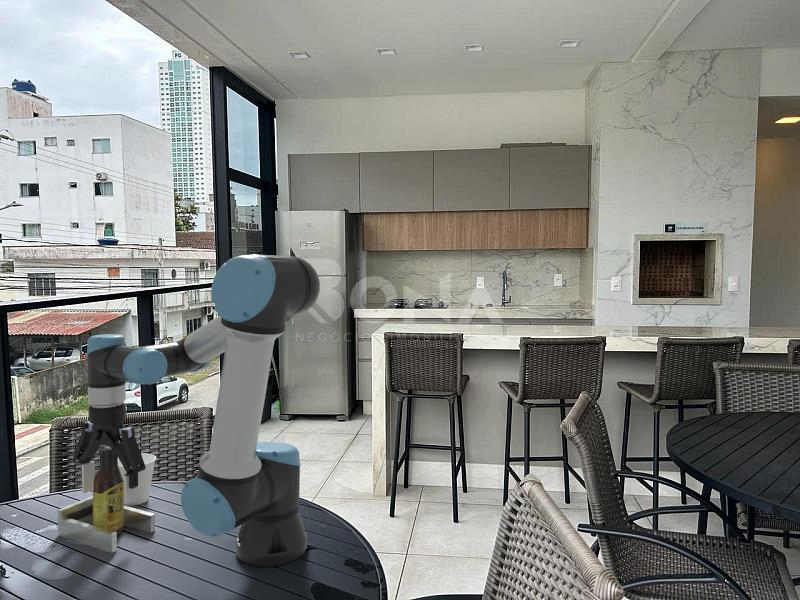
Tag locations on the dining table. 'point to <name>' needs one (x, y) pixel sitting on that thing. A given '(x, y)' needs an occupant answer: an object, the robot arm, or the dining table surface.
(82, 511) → the frame
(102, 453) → the sauce bottle
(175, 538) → the dining table surface
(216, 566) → the dining table surface
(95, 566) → the dining table surface
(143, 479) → the cup
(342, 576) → the dining table surface
